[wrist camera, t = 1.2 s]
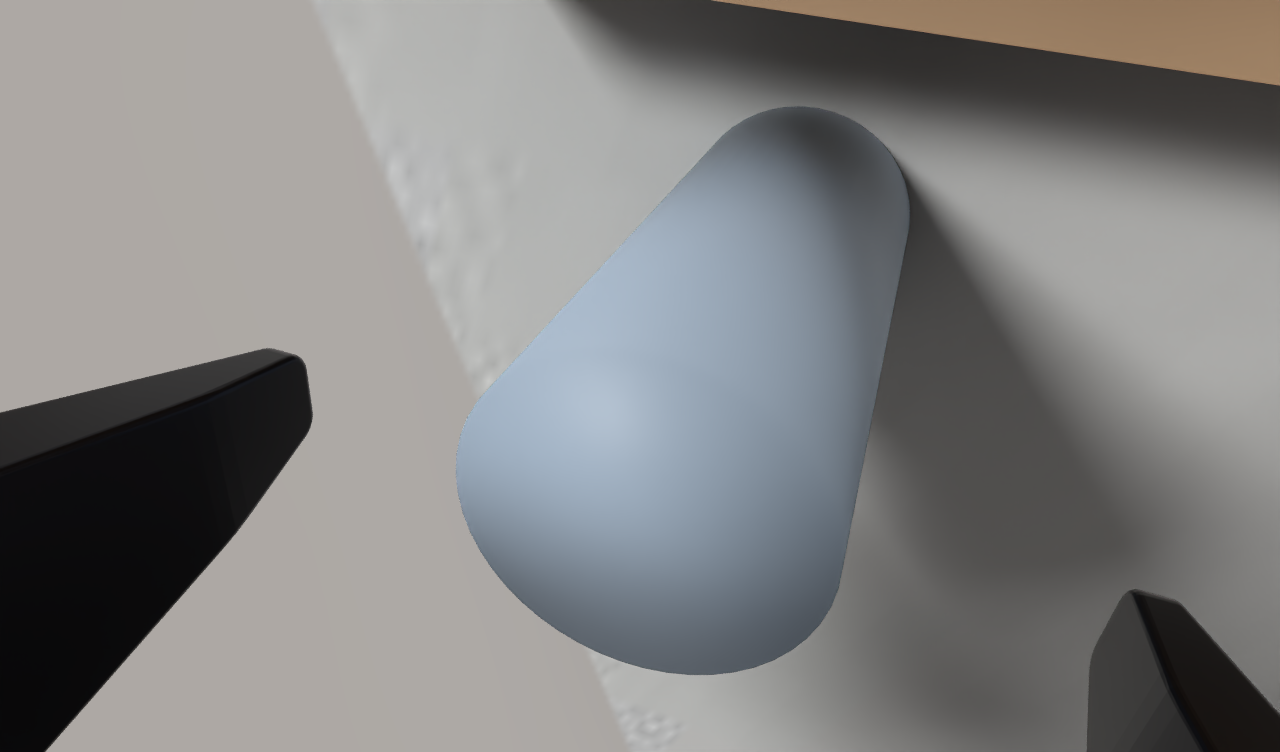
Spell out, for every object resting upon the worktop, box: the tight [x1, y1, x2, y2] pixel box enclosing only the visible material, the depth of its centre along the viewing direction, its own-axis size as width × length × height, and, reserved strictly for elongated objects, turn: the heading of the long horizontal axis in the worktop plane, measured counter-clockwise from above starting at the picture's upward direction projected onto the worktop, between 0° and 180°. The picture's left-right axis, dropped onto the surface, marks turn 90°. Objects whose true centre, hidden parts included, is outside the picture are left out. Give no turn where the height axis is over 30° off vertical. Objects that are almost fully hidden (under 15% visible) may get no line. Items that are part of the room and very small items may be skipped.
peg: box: [456, 107, 910, 675], centre depth 12 cm, size 4×4×9 cm
